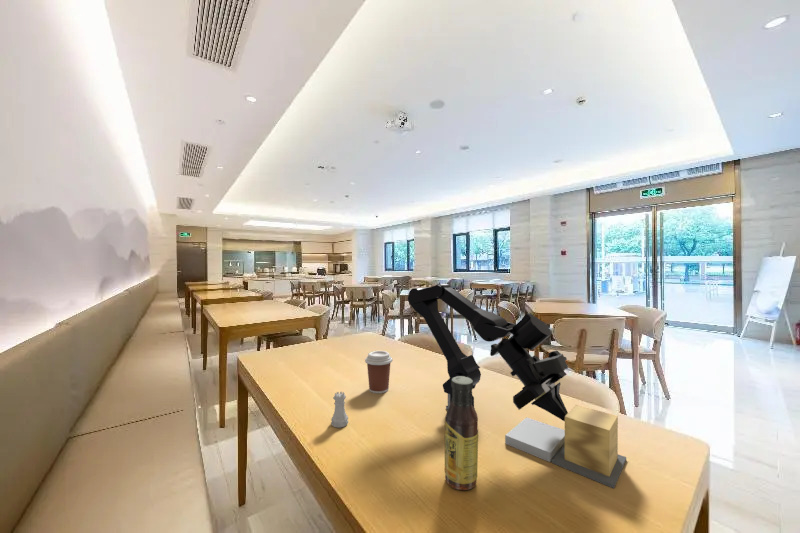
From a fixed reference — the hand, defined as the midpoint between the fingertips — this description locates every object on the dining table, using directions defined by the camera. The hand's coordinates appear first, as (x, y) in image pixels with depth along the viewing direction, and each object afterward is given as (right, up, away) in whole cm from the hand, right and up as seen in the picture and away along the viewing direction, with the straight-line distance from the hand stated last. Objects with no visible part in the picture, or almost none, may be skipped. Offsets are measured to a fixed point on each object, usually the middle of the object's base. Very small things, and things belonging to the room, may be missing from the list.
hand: (568, 421), depth 70 cm
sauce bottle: (-25, -8, -9) cm, 28 cm away
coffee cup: (-44, -7, +36) cm, 58 cm away
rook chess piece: (-53, -7, +13) cm, 55 cm away
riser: (-5, -7, +5) cm, 10 cm away
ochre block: (+3, -7, -3) cm, 8 cm away
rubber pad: (+3, -7, -3) cm, 8 cm away
